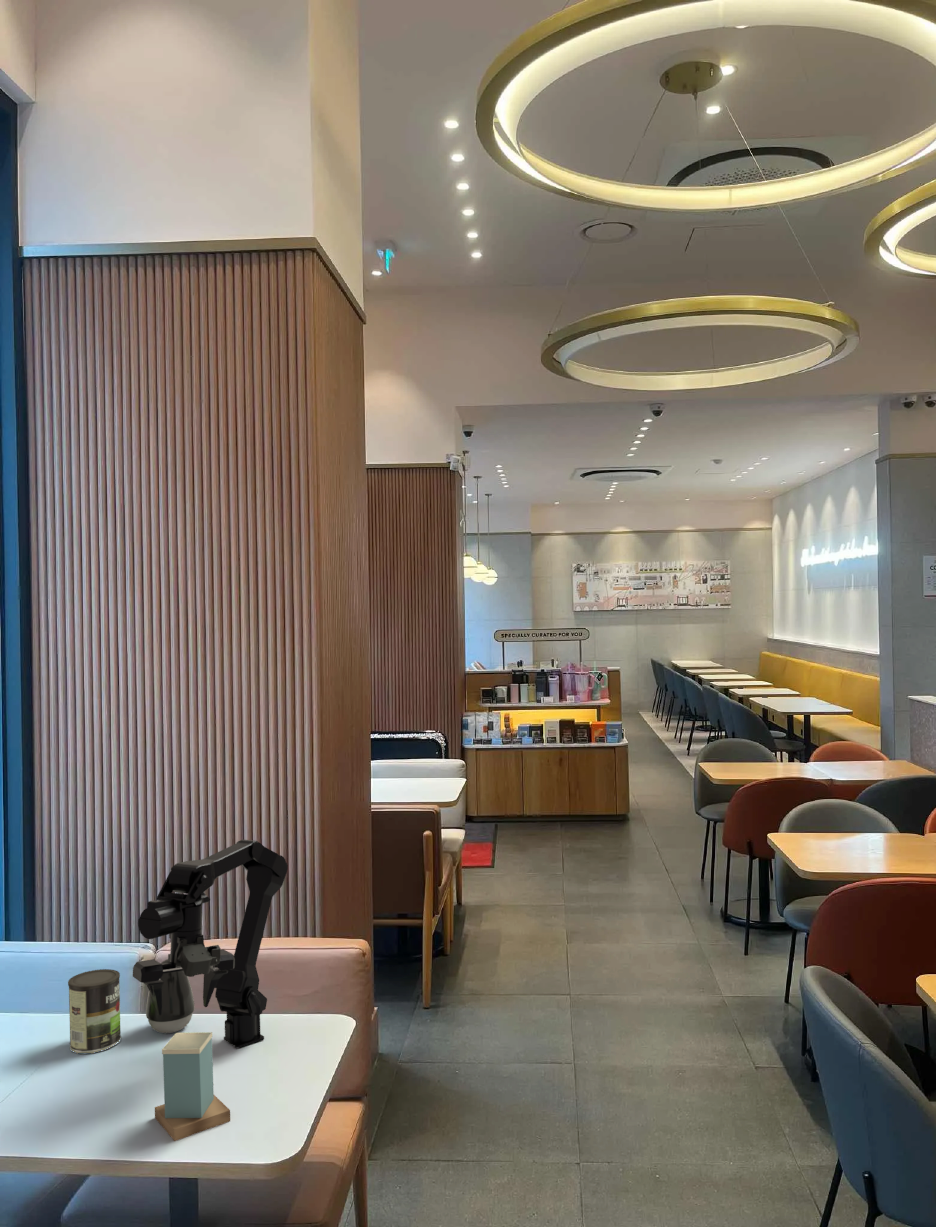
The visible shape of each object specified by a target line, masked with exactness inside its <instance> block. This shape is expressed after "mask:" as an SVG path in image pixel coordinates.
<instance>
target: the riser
mask: <svg viewBox="0 0 936 1227" xmlns="http://www.w3.org/2000/svg"><path fill="white" fill-rule="evenodd" d="M154 1119H155V1120H156V1121H157V1123H159V1125H160V1126H161V1127H162V1128H163V1129H164V1131H165V1132H166V1133H167V1134H168V1135H169V1136H170V1137H171V1138H172V1140H173V1141H174V1142H176V1141H179V1140H181V1139H185V1138H187V1137H190V1136H193V1135H196V1134H198V1133H199V1134H200V1133H201V1132H204V1131H206V1130H209V1129H210V1130H211V1129H212V1128H214V1127H218V1126H221V1125H223V1124H226V1123H229V1122H231V1109H230V1108H229V1107H228V1106H226V1105H225V1104H224V1102H222V1101H221V1100H220V1098H218V1097H217V1096H216V1095H215V1094H214V1099H213V1101H212V1102H211V1104H210V1106H209V1107H208V1109H207V1110H206V1112H205V1113H204V1115H203V1116H202V1118H165V1103H163V1104H160V1105H157V1106H155V1107H154Z"/></svg>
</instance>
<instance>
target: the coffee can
mask: <svg viewBox="0 0 936 1227" xmlns="http://www.w3.org/2000/svg"><path fill="white" fill-rule="evenodd" d="M120 976H121V973H120V972H119V971H118V970H115V969H109V968H108V969H107V968H103V969H93V970H88V971H84V972H81V973H78V974H76V975H74V976H72V977H70V978H69V979H68V981H67V985H68V986H67V987H68V1002H69V1004H68V1005H69V1007H68V1008H69V1009H68V1011H69V1014H68V1015H69V1044H70V1045H69V1050H70V1049H71V1050H72V1051H74V1052H76V1053H75V1054H78V1053H91V1054H95V1053H94V1052H98V1051H101V1050H105V1049H107V1048H109V1047H112V1046H113V1045H115V1044H116V1043H117V1042H119V1040H120V1038H121V1039H122V1036H121V1031H122V1030H121V1000H120V999H121V993H120V988H121V986H120ZM119 1043H120V1042H119ZM112 1048H113V1047H112ZM71 1050H70V1051H71ZM72 1051H71V1052H72ZM105 1051H106V1050H105ZM74 1052H73V1053H74ZM98 1053H99V1052H98Z"/></svg>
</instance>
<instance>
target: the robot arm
mask: <svg viewBox="0 0 936 1227" xmlns="http://www.w3.org/2000/svg"><path fill="white" fill-rule="evenodd" d="M238 867H243V869H244V870H246V871H247V872H246V877H245V879H246V884H247V887H248V892H249V894H248V899H247V903H246V907H245V911H244V915H243V919H242V923H241V925H240V930H239V933H238V938H237V942H236V946H235V950H234V954H233V953H232V952H230V951H227V950H225V949H223V948H222V949H221V946H220V945H219V944H215V945H214V944H213V945H209V946H205V942H204V941H205V938H204V934H202V927H203V926H202V923H203V904H206V903H209V902H210V901H211V898H210V897H209V896H208V895H206V893H205V892H206V891H207V890H208V889H210V888H211V887H212V886H213V885H214V883H215V881H216V879H218V878H219V877H221V876H223V875H225V874H227V873H229V872H231V871H233V870H235V869H237V868H238ZM287 873H288V863H287V861H286V859H285V857H284V856H283V855H279V853H277V852H275V851H273V850H271V849H269V848H268V847H266V846H264V844H262V843H261V842H260V841H257V840H254V839H253V840H252V839H251V840H250V839H241V840H238V841H237V842H236V843H234V844H232V845H230V846H228V847H226V848H224V849H222V850H219V851H217V852H216V853H213V854H211V855H209V856H207V857H205V858H202V859H195V860H187V861H183V862H177V863H175V864H174V865H173V866H172V867H171V868H170V872H169V873H168V876H167V877H166V879H165V881H164V882H163V885H162V887H161V888H160V890H159V892H158V894H157V896H156V900H150V901H149V900H148V901H147V905H146V906H147V907H146V908H144V910H143V911H142V912H141V913H140V915H139V918H138V920H137V921H138V922H137V925H138V930H139V933H140V934H141V936H142V937H143V938H145V939H147V940H153V939H156V938H160V937H164V936H168V938H169V939H170V952H169V953H168V955H167V959H168V960H170V962H168V963H161V962H159V961H158V960H156V959H147V960H139V961H136V962H135V964H134V965H133V967H132V978H134V979H136V980H137V981H138V982H140V983H143V984H144V985H145V986H146V987H147V989H148V992H149V991H150V993H151V996H152V999H153V1002H154V1005H155V1008H156V1011H157V1014H158V1015H159V1016H160V1015H161V1014H162V986H163V983H164V982H163V981H162V980H160V978H161V977H162V976H163V973H170V972H176V971H184V974H185V975H186V976H188V978H193V977H194V976H199V975H203V983H202V984H203V986H202V989H203V991H202V999H203V1000H202V1002H203V1007H204V1008H207V1007H209V1004H210V1002H211V998H212V997H213V993H214V991H215V993H214V994H215V998H216V1002H217V1004H218V1007H219V1010H220V1012H222V1013H223V1012H224V1013H225V1012H226V1019H225V1020H224V1036H223V1040H224V1041H225V1042H226V1043H228V1044H230V1045H231V1046H232V1047H234V1048H236V1049H238V1048H242V1047H246V1046H248V1045H251V1044H254V1043H257V1042H260V1041H263V1040H265V1036H264V1035H263V1034H261V1015H262V1014H263V1012H264V1011H266V1007H267V1002H268V998H267V997H266V996H265V995H264V994H263V993H262V992H261V991H260V990H259V985H260V978H259V974H258V970H257V966H256V964H257V961H258V956H259V953H260V949H261V944H262V940H263V935H264V932H265V929H266V924H267V921H268V920H267V919H268V914H269V912H270V908H271V904H272V899H273V897H274V896H275V895H276V894H277V892H279V890H280V889H281V887H282V886H283V885H284V882H285V879H286V876H287ZM175 966H179V967H175Z"/></svg>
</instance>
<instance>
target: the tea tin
mask: <svg viewBox="0 0 936 1227" xmlns="http://www.w3.org/2000/svg"><path fill="white" fill-rule="evenodd" d="M161 1054H162V1063H163V1064H162V1065H163V1067H162V1070H163V1092H164V1096H163V1098H164V1104H165V1118H202V1116H203V1115H204V1113H205V1112H206V1110H207V1109H208V1107H209V1106H210V1104H211V1102H212V1101H213V1099H214V1095H215V1092H214V1068H213V1067H214V1064H213V1063H214V1062H213V1032H212V1031H208V1032H199V1031H198V1032H175V1033H174V1035H173V1036H172V1037H171V1038H170V1039H169V1040H168V1041H167V1043H166V1044H165V1045H164V1046H163V1048H161Z"/></svg>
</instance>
